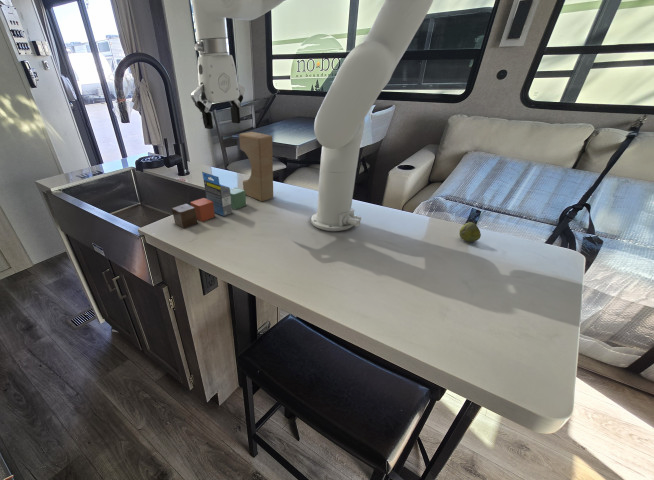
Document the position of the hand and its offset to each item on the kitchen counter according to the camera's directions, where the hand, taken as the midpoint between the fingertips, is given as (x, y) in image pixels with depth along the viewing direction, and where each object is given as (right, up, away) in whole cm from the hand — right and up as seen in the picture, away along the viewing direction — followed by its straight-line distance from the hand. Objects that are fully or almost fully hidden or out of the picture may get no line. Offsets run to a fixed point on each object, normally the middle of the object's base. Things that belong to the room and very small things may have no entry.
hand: (222, 125), depth 88 cm
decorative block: (+10, -13, +24) cm, 29 cm away
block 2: (-7, -23, +10) cm, 27 cm away
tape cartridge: (-3, -21, +14) cm, 25 cm away
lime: (+64, -34, -8) cm, 73 cm away
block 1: (-12, -26, +7) cm, 30 cm away
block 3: (+2, -18, +17) cm, 25 cm away
